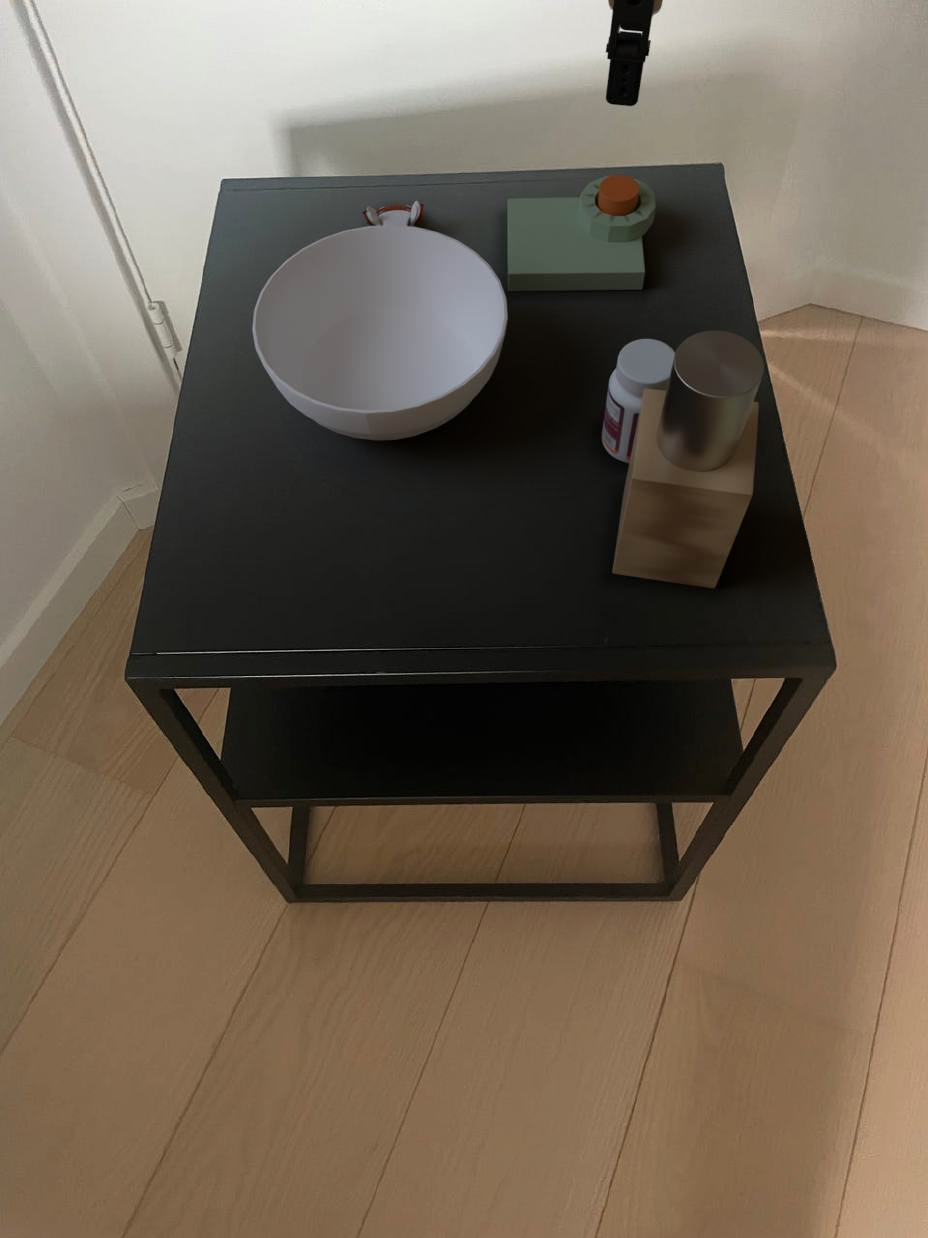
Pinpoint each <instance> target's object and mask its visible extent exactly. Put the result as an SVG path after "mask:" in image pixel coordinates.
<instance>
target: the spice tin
mask: <svg viewBox="0 0 928 1238" xmlns="http://www.w3.org/2000/svg"><path fill="white" fill-rule="evenodd" d="M674 352H675V355H674V360H673V364H672V368H671V373H670V377H669V381H668V386H667V390H666V395H665V399H664V403H663V408H662V412H661V416H660V421H659V425H658V430H657V443H658V446H659V448H660V450H661V452H662V454H663V455H664V456H665V457H666V458H667V459H668V460H669V461H670V462H672V463H673V464H675V465H677V466H679V467H681V468H684V469H687V470H692V471H710V470H714V469H717V468H719V467H721V466H723V465H725V464H726V463H727V462H728V461H730V460H731V458H732V457H733V456H734V454H735V452H736V450H737V447H738V444H739V441H740V438H741V435H742V433H743V430H744V427H745V424H746V421H747V418H748V415H749V413H750V410H751V407H752V404H753V402H755V398H756V396H757V393H758V390H759V387H760V384H761V381H762V378H763V375H764V371H765V364H764V359H763V357H762V355H761V353H760V352H759V350H758V349H757V347H756V346H755V345H754V344H753V343H751V342H750V341H749V340H748V339H746V338H744V337H743V336H741V335H738V334H736V333H734V332H729V331H725V330H706V331H701V332H697V333H694V334H693V335H690V336H688V337H687V338H685V339H684V340H683V341H682V342H681V343H680V344H679V345H678V347H677V348H676V350H675V351H674Z"/></svg>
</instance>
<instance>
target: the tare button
mask: <svg viewBox="0 0 928 1238" xmlns="http://www.w3.org/2000/svg"><path fill="white" fill-rule="evenodd" d="M608 176H609V177H607V178H605V179H604V180H603V181H602V182H601V184H600V188H599V197H598V206H599V208H600V210H601V211H602V212H603V213H606V214H609V215H612V216H626V215H629V214H631V213H632V212H634V210H635V209H636V207H637V202H638V195H639V185H638V183H637V182H636V181H635V180H634V179H635V178H634V177H632V176H629V175H625V174H613V175H608ZM633 178H634V179H633Z"/></svg>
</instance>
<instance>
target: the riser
mask: <svg viewBox="0 0 928 1238" xmlns="http://www.w3.org/2000/svg"><path fill="white" fill-rule="evenodd" d="M665 395H666V391H663V390H655V389H647V388H645V389H644V392H643V397H642V402H641V407H640V412H639V417H638V422H637V427H636V433H635V438H634V443H633V448H632V453H631V458H630V463H628V467H627V468H628V469H627V474H626V479H625V482H624V483H625V484H624V487H623V488H624V489H623V495H622V501H621V509H620V516H619V524H618V529H617V530H618V531H617V537H616V543H615V544H616V545H615V552H614V557H613V566H612V574H614V575H620V576H627V577H633V578H640V579H647V580H653V581H660V582H667V583H674V584H680V585H681V584H682V585H688V586H693V587H701V588H708V589H716V588H717V584H718V583H719V580H720V577H721V575H722V572H723V570H724V567H725V565H726V562H727V560H728V557H729V555H730V552H731V550H732V547H733V545H734V542H735V540H736V537H737V535H738V533H739V530H740V528H741V525H742V523H743V521H744V518H745V515H746V512H747V511H748V509H749V508H748V507H749V505H750V503H751V500H752V498H753V495H754V482H755V468H756V453H757V439H758V423H759V422H758V421H759V408H760V407H759V406H760V402H758V401H753V404H752V407H751V410H750V413H749V415H748V418H747V421H746V424H745V427H744V430H743V433H742V435H741V438H740V441H739V444H738V447H737V450H736V452H735V454H734V456H733V457H732V458H731V460H730V461H728V462H727V463H726V464H725V465H723V466H721V467H719V468H717V469H714V470H710V471H692V470H687V469H684V468H681V467H679V466H677V465H675V464H673V463H672V462H670V461H669V460H668V459H667V458H666V457H665V456H664V455H663V454H662V452H661V450H660V448H659V446H658V443H657V430H658V425H659V421H660V416H661V412H662V408H663V403H664V399H665Z"/></svg>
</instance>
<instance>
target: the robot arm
mask: <svg viewBox="0 0 928 1238" xmlns="http://www.w3.org/2000/svg"><path fill="white" fill-rule="evenodd" d="M607 1H608V7H609V9H610V10H611V11H612V14H611V21H610V31H609V36H608V40H607V43H606V47H605V53H606V54H607V57H606V59H607V60H609V66H608V75H607V84H606V90H605V91H606V92H605V101H606V102H607V103H608V104H609V105H614V106H624V107H633V106H635V105H636V104H637V103H638V101H639V96H640V91H641V83H642V77H643V70H644V63H646V59H647V57H649V54H650V50H651V49H650V48H651V41H652V40H651V39H650V34H651V26H652V20H653V17H654V16H655V15H656V14H658V13H659V12H660V11H661V9H662V6H663V1H664V0H607Z"/></svg>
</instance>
